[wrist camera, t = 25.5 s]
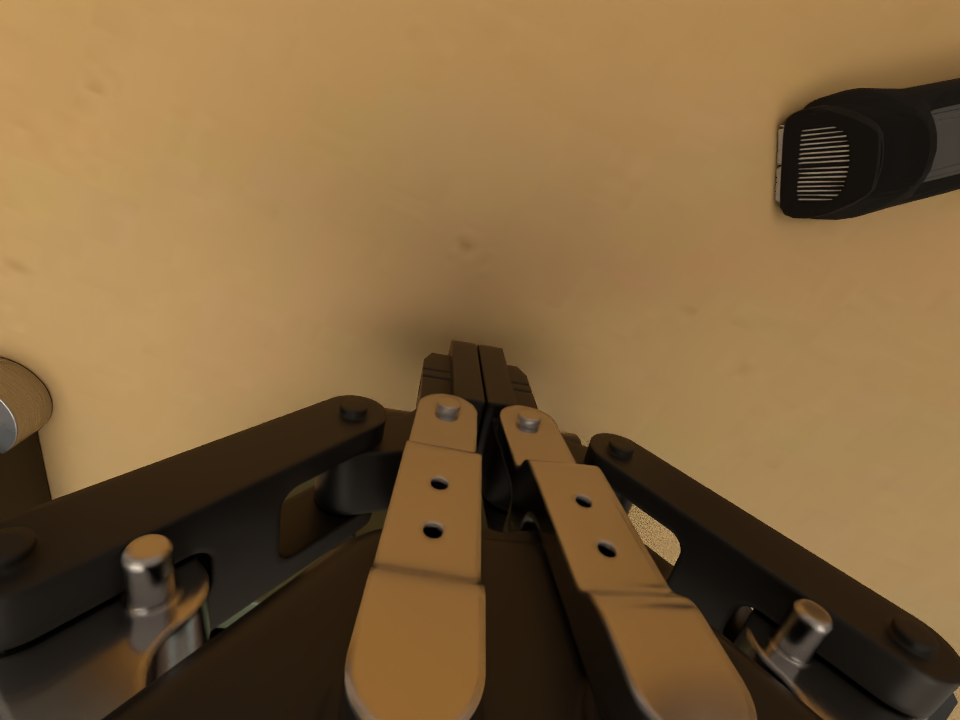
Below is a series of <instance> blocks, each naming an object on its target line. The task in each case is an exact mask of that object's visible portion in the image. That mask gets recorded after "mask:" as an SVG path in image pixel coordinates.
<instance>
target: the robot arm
mask: <svg viewBox="0 0 960 720" xmlns="http://www.w3.org/2000/svg"><path fill="white" fill-rule="evenodd" d="M314 477H316V478H315V485H314V486H312V487H310V488H308V489H306V490H304V491H302V492H300V493H298V494H297V495H295V496H293V497H291V498H289V499H287V500H285V498H286V497H287V495H288V494H289V493H290V492H291V491H292V490H293V489H294V488H296V487H297V486H299V485H300V484H302V483H304V482H306V481H308V480H310V479H312V478H314ZM284 500H285V501H284ZM632 504H634V505H636V506H637V507H638V508H640V509H641V510H643V511H644V512H645V513H647V514H648V515H650V516H651V517H652V518H654V519H655V520H657V521H658V522H659V523H661V524H662V525H664V526H665V527H666V528H668V529H669V530H670V531H672V532H673V533H674V534H675V536H676V537H677V539H678V541H679V543H680V547H681V552H680V555H679V557H678V559H677V561H676V563H675V565H674V566H673V565H671V564H670V563H668V562H667V561H666V560H665V559H663V558H662V557H661V556H659V555H658V554H657V553H655V552H654V551H653V550H652V549H650V548H649V547H648V546H646V545H645V544H644V543H643V541H642V540H641V538H640V536H639V535H638V533H637V531H636V529H635V528H634V526H633V524H632V522H631V521H630V519H629V517H628V513H629V511H630V508H631V506H632ZM386 510H388V511H387V515H386V519H385V523H384V526H383V529H378V530H374V531H371V532H367V533H364V534H362V535H359V536H357V537H354V538H352V539H350V540H348V541H346V542H344V543H343V544H341V545H339V546H337V547H336V548H334V547H335V546H336V545H338V544H339V543H341V542H342V541H344V540H345V539H347V538H348V537H350V536H351V535H353V534H354V533H356V532H357V531H358V530H360V529H361V528H363V527H364V526H365V525H366V524H367V523H368V522H369V520H370V518H371V515H372V512H379V511H386ZM332 548H334V549H333V550H332V551H330V552H329V553H327V554H326V555H325V556H323V557H322V558H321V559H319V560H318V561H317V562H315V563H314V564H313V565H311V566H310V567H308V568H307V569H306V570H304V571H303V572H302V573H300V574H299V575H298V576H296V577H295V578H293V579H292V580H291V581H289V582H288V583H287V584H285V585H284V586H283V587H281V588H280V589H278V590H277V591H276V592H274V593H273V594H272V595H270V596H269V597H268V598H266V599H265V600H263V601H262V602H261V603H259V604H258V605H257V606H255V607H254V608H253V609H251V610H250V611H248V612H247V613H246V614H244V615H243V616H242V617H240V618H239V619H238V620H236V621H235V622H233V623H232V624H231V625H229V626H228V627H227V628H225V629H224V630H223V631H221V632H220V633H218V634H217V635H216V636H214V637H213V638H212V639H210V640H209V638H210V631H212V630H213V629H215V628H216V627H218V626H219V625H221V624H222V623H224V622H225V621H226V620H228V619H229V618H231V617H232V616H234V615H235V614H237V613H238V612H240V611H241V610H243V609H244V608H246V607H247V606H248V605H250V604H251V603H253V602H254V601H256V600H257V599H259V598H260V597H262V596H263V595H265V594H266V593H268V592H269V591H270V590H272V589H273V588H275V587H276V586H278V585H279V584H281V583H282V582H284V581H285V580H287V579H288V578H290V577H291V576H292V575H294V574H295V573H297V572H298V571H300V570H301V569H303V568H304V567H306V566H307V565H309V564H310V563H312V562H313V561H314V560H316V559H317V558H319V557H320V556H322V555H323V554H325V553H326V552H328V551H329V550H331V549H332ZM751 607H752V608H754V609H753V611H752V609H751ZM959 686H960V657H959V655H958V654H957V653H956V652H955V650H954V649H953V648H952V647H951V646H950V645H949V644H948V643H947V642H946V641H945V640H944V639H943V638H942V637H941V636H940V635H939V634H938V633H936V632H935V631H934V630H933V629H932V628H930V627H929V626H927V625H926V624H925V623H923V622H922V621H920V620H919V619H917V618H916V617H914V616H913V615H911V614H909V613H908V612H906V611H905V610H903V609H901V608H900V607H898V606H897V605H895V604H893V603H892V602H890V601H889V600H887V599H885V598H884V597H882V596H881V595H879V594H877V593H876V592H874V591H872V590H871V589H869V588H868V587H866V586H864V585H863V584H861V583H860V582H858V581H856V580H855V579H853V578H852V577H850V576H848V575H847V574H845V573H844V572H842V571H840V570H839V569H837V568H836V567H834V566H832V565H831V564H829V563H827V562H826V561H824V560H823V559H821V558H819V557H818V556H816V555H815V554H813V553H811V552H810V551H808V550H807V549H805V548H803V547H802V546H800V545H799V544H797V543H795V542H794V541H792V540H791V539H789V538H787V537H786V536H784V535H782V534H781V533H779V532H778V531H776V530H774V529H773V528H771V527H770V526H768V525H766V524H765V523H763V522H762V521H760V520H758V519H757V518H755V517H754V516H752V515H750V514H749V513H747V512H745V511H744V510H742V509H741V508H739V507H737V506H736V505H734V504H733V503H731V502H729V501H728V500H726V499H725V498H723V497H721V496H720V495H718V494H717V493H715V492H713V491H712V490H710V489H709V488H707V487H705V486H704V485H702V484H700V483H699V482H697V481H696V480H694V479H692V478H691V477H689V476H688V475H686V474H684V473H683V472H681V471H680V470H678V469H676V468H675V467H673V466H672V465H670V464H668V463H667V462H665V461H664V460H662V459H660V458H659V457H657V456H655V455H654V454H652V453H651V452H649V451H647V450H646V449H644V448H643V447H641V446H639V445H638V444H636V443H635V442H633V441H631V440H629V439H627V438H624V437H622V436H619V435H615V434H609V433H600V434H596V435H594V436H593V437H592V438H591V440H590V443H589V446H588V447H586V446H583V445H580V444H577V443H574V442H571V441H568V440H566V439H564V438H563V436H562V435H561V433H560V431H559V429H558V427H557V425H556V423H555V421H554V420H553V419H552V418H551V417H550V416H549V415H547V414H545V413H544V412H542V411H540V410H538V408H537V405H536V402H535V400H534V397H533V394H532V391H531V388H530V386H529V382H528V379H527V376H526V375H525V374H524V373H523V372H522V371H521V370H520V369H519V368H518V367H516V366H510V365H507V364H506V361H505V357H504V353H503V350H502V348H497V347H491V346H485V345H479V344H478V345H477V346H476V344H473V343H467V342H461V341H455V340H452V341H451V345H450V349H449V354H448V355H442V354H436V353H431V354H430V355H429V356H428V357H426V358H425V359H424V363H423V369H422V375H421V381H420V386H419V392H418V398H417V403H416V409H415V410H414V411H412V412H410V413H408V414H405V415H400V416H388V417H386V411H385V409H384V407H383V406H382V405H381V404H379V403H378V402H376V401H374V400H372V399H369V398H366V397H361V396H353V395H346V396H338V397H334V398H331V399H328V400H326V401H323V402H320V403H317V404H315V405H312V406H309V407H306V408H304V409H301V410H298V411H295V412H293V413H290V414H287V415H284V416H282V417H279V418H276V419H273V420H271V421H268V422H265V423H262V424H260V425H257V426H254V427H251V428H249V429H246V430H243V431H241V432H238V433H235V434H232V435H230V436H227V437H224V438H221V439H219V440H216V441H213V442H210V443H208V444H205V445H202V446H199V447H197V448H194V449H191V450H188V451H186V452H183V453H180V454H177V455H175V456H172V457H169V458H166V459H164V460H161V461H158V462H156V463H153V464H150V465H147V466H145V467H142V468H139V469H136V470H134V471H131V472H128V473H125V474H123V475H120V476H117V477H114V478H112V479H109V480H106V481H103V482H101V483H98V484H95V485H92V486H90V487H87V488H84V489H81V490H79V491H76V492H73V493H71V494H68V495H65V496H62V497H60V498H57V499H54V500H51V501H49V502H46V503H43V504H40V505H38V506H35V507H32V508H29V509H27V510H24V511H21V512H18V513H16V514H13V515H10V516H7V517H5V518H2V519H0V720H927V719H928V718H929V717H930V716H931V715H932V714H933V713H934V712H935V711H936V710H937V709H938V708H939V707H940V706H941V705H942V704H943V703H944V702H945V701H946V700H947V698H948V697H949V696H950V695H951V694H952V693H953V692H954V691H955V690H956V689H957V688H958V687H959Z"/></svg>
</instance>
